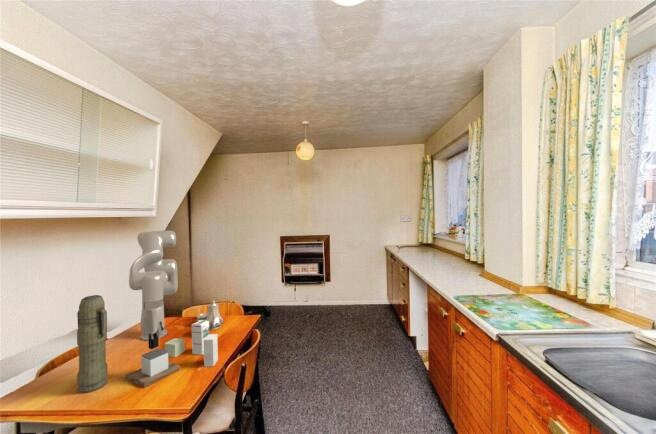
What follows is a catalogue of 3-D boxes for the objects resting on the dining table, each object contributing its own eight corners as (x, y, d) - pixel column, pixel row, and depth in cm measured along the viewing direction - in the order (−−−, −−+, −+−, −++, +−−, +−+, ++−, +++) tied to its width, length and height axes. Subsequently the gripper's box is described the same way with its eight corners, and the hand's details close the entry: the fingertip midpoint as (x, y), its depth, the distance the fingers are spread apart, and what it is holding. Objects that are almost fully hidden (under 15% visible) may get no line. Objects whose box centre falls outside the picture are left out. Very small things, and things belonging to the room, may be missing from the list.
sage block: (164, 356, 130) (164, 343, 130) (174, 350, 136) (174, 338, 136) (175, 357, 129) (174, 344, 129) (184, 351, 134) (184, 339, 134)
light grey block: (150, 359, 109) (150, 376, 109) (168, 351, 115) (168, 368, 115) (141, 355, 113) (141, 372, 112) (158, 348, 119) (159, 364, 119)
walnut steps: (125, 377, 112) (125, 373, 112) (160, 362, 124) (160, 357, 124) (144, 387, 105) (144, 382, 105) (179, 370, 117) (179, 365, 117)
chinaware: (195, 324, 174) (191, 299, 173) (223, 317, 180) (220, 293, 180) (192, 342, 148) (188, 312, 148) (225, 333, 155) (221, 304, 154)
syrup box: (202, 355, 130) (202, 324, 130) (191, 354, 131) (191, 323, 131) (210, 349, 136) (209, 320, 136) (199, 348, 137) (199, 319, 137)
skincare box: (208, 360, 125) (208, 334, 125) (218, 359, 125) (217, 333, 126) (203, 367, 119) (203, 339, 119) (213, 366, 119) (213, 339, 120)
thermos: (88, 379, 111) (87, 293, 112) (116, 379, 111) (115, 293, 111) (67, 393, 103) (66, 300, 103) (97, 393, 102) (96, 299, 102)
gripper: (133, 303, 115) (134, 347, 115) (153, 309, 108) (154, 355, 108) (152, 299, 122) (153, 340, 122) (172, 304, 114) (172, 347, 114)
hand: (153, 347), depth 115 cm, fingers closed
